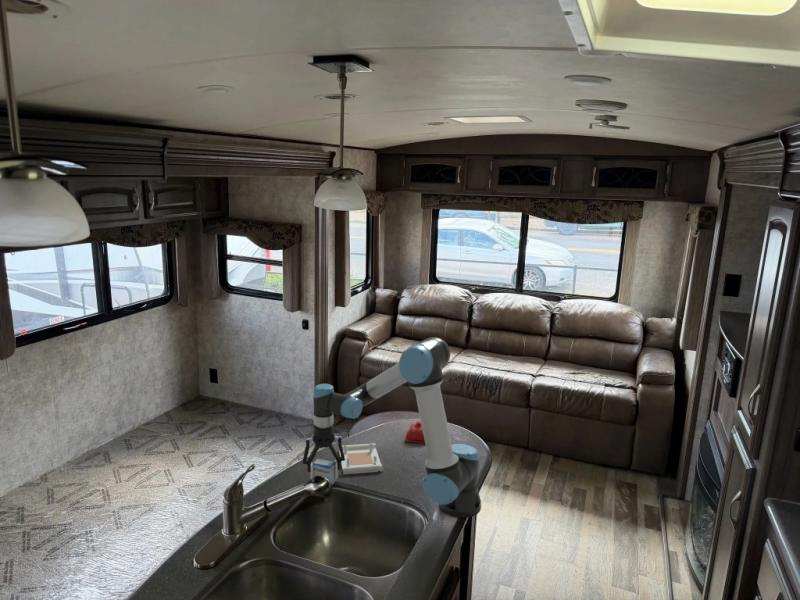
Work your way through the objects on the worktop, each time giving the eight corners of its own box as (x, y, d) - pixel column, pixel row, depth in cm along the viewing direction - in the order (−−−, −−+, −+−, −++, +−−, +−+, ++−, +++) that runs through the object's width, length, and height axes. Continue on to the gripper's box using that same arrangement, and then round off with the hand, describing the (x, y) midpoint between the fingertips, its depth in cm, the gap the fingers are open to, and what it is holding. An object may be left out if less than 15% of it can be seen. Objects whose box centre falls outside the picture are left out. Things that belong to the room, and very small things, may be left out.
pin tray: (382, 471, 225) (382, 461, 224) (343, 474, 222) (343, 464, 221) (375, 448, 244) (375, 439, 244) (339, 451, 241) (339, 441, 240)
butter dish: (431, 434, 260) (432, 417, 258) (429, 445, 249) (430, 428, 247) (407, 432, 261) (407, 415, 260) (404, 443, 250) (404, 426, 248)
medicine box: (312, 483, 215) (312, 463, 213) (317, 478, 219) (317, 458, 217) (330, 487, 213) (330, 466, 211) (335, 481, 217) (335, 461, 215)
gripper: (350, 418, 216) (350, 470, 221) (294, 421, 212) (295, 475, 217) (352, 426, 209) (352, 480, 214) (295, 430, 205) (296, 485, 210)
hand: (324, 477), depth 215 cm, fingers closed on medicine box, 9 cm apart
